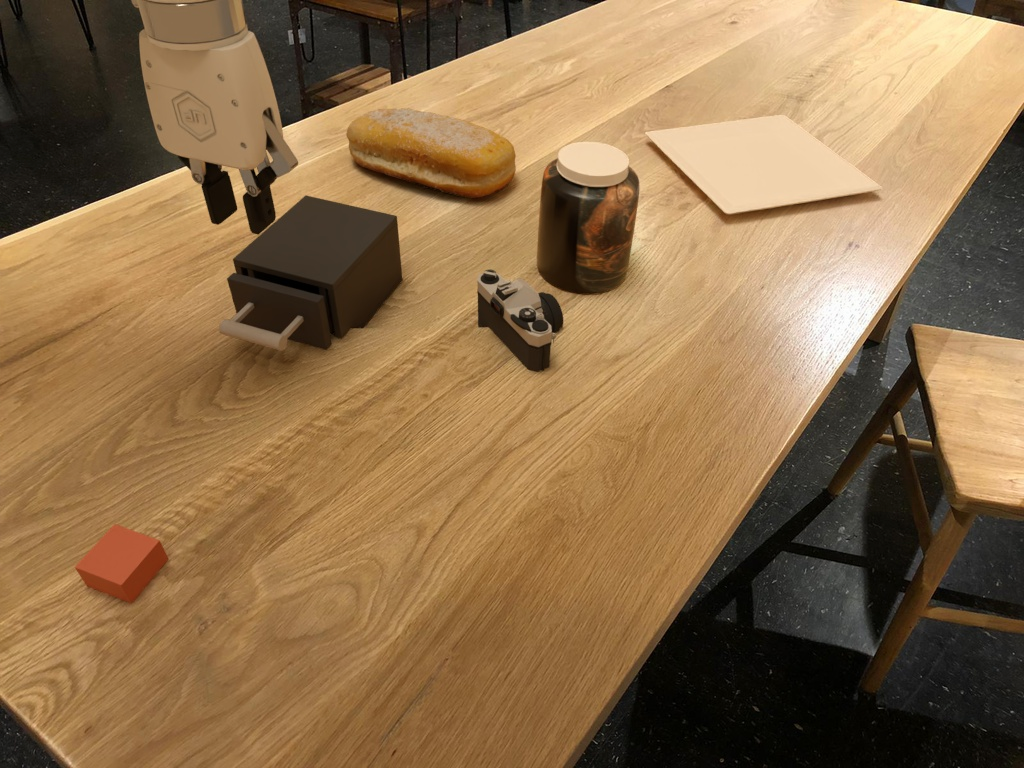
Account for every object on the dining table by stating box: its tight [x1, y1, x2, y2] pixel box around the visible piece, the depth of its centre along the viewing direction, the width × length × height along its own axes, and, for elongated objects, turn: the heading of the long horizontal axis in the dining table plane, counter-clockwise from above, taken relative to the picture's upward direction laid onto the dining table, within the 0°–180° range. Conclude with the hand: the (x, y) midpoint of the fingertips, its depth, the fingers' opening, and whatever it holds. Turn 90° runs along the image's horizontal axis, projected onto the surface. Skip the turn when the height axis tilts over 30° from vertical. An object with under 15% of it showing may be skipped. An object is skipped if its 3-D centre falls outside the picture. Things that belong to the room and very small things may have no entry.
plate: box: [644, 114, 883, 216], centre depth 117 cm, size 26×26×2 cm
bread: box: [346, 107, 517, 199], centre depth 112 cm, size 13×26×8 cm, turn 64°
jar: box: [536, 141, 640, 295], centre depth 92 cm, size 12×12×15 cm
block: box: [74, 523, 169, 604], centre depth 61 cm, size 4×4×4 cm
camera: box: [476, 269, 564, 373], centre depth 84 cm, size 13×8×9 cm, turn 34°
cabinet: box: [232, 195, 403, 340], centre depth 88 cm, size 15×12×9 cm
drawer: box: [218, 268, 335, 352], centre depth 84 cm, size 18×11×7 cm, turn 160°
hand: (244, 220), depth 71 cm, fingers open, 3 cm apart
